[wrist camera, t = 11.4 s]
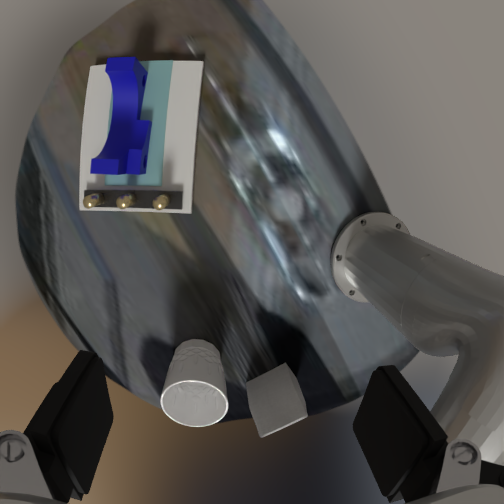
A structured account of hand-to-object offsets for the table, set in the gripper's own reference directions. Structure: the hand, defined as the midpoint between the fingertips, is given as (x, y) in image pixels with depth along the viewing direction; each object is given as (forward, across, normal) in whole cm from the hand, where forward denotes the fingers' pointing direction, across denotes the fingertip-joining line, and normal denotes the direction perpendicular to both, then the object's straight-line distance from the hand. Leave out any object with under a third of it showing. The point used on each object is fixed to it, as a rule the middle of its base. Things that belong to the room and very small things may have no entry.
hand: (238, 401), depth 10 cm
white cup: (+30, +3, +19) cm, 35 cm away
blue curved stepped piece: (+28, +12, -12) cm, 32 cm away
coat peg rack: (+28, +12, -3) cm, 30 cm away
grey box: (+30, -8, +22) cm, 38 cm away
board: (+29, +12, -11) cm, 33 cm away
